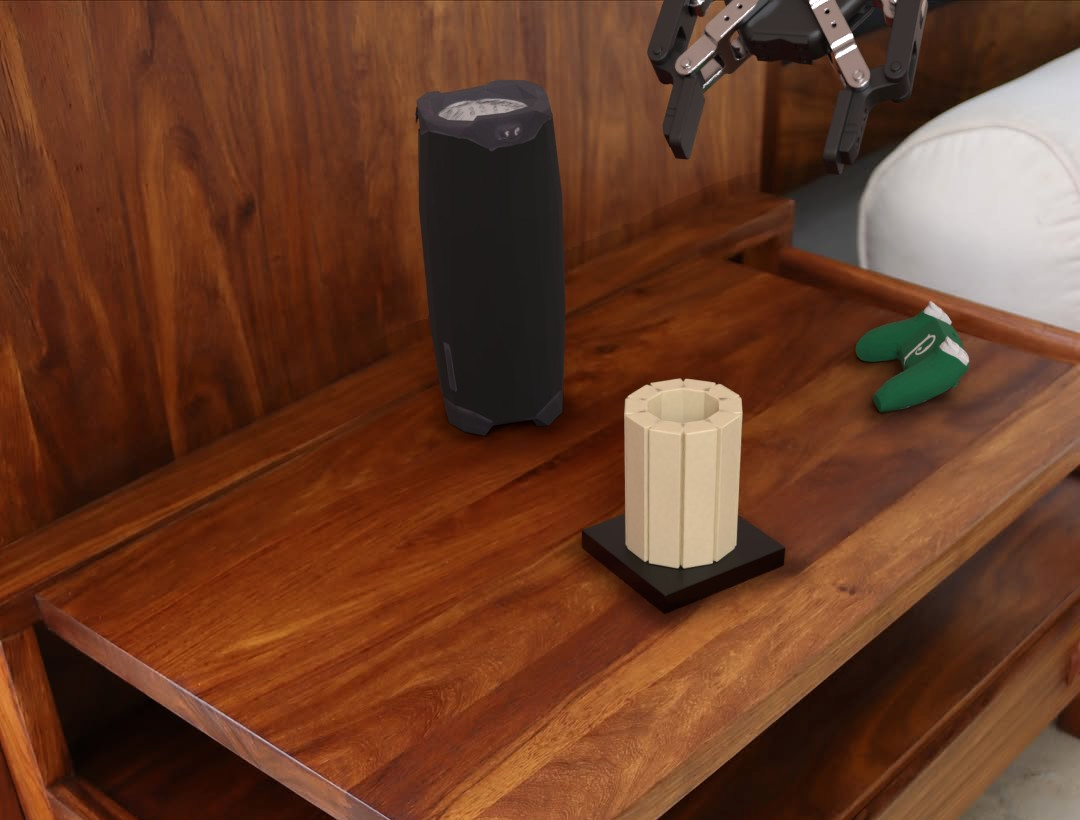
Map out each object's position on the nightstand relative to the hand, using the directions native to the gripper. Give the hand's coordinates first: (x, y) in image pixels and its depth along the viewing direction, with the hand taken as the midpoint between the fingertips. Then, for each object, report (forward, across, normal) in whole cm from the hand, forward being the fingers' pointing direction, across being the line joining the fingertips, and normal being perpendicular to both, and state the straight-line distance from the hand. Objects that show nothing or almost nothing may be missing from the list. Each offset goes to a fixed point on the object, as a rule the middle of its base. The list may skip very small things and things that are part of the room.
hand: (753, 160), depth 78 cm
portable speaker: (+12, -16, +13) cm, 24 cm away
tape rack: (+21, 0, +4) cm, 21 cm away
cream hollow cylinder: (+20, 0, +3) cm, 20 cm away
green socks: (+4, +7, +22) cm, 23 cm away
